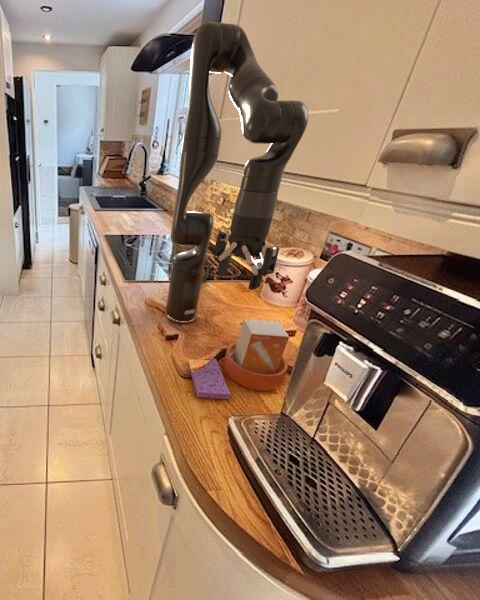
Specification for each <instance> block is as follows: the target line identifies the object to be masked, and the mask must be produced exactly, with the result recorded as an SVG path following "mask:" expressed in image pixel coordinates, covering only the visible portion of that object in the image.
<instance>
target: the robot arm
mask: <svg viewBox="0 0 480 600" xmlns="http://www.w3.org/2000/svg"><path fill="white" fill-rule="evenodd" d="M250 43H251V42H250V41H249V38H248V35H247V34H246V32H245V30H244V29H243V27H241V26H240V25H239V24H236V23H235V24H234V23H224V22H217V21H205V22H203V23H201V24H200V25H199V26H198V28H197V29H196V31H195V33H194V36H193V39H192V43H191V49H190V57H189V71H188V72H189V74H188V94H187V108H186V115H185V116H186V117H185V123H184V130H183V137H182V145H181V152H180V153H181V154H180V164H179V177H178V184H177V185H178V186H177V191H176V192H177V193H176V198H175V202H174V203H175V204H174V209H173V215H172V220H171V227H170V241H171V243H172V244H173V245H177V246H188V247H189V246H191V247H193V248H191V249H190V250H185V251H183V252H179V253H176V254H175V255H174V256H173V257H172V260H171V269H170V277H169V283H168V284H169V285H168V292H167V299H166V306H165V312H164V316H165V317H166V319H167V320H169V321H170V322H173V323H175V324H181V325H184V324H185V325H186V324H192V323H194V322H195V320H196V317H197V316H196V315H197V310H198V305H199V298H200V294H201V288H202V283H204V282H205V281H206V280H207V279H208V278H209V276H210V269H211V264H210V263H208V264H207V268H206V275H205V277H204V273H205V266H206V265H205V264H206V260H207V255H208V250H209V247H210V242H211V238H212V234H213V231H214V217H213V214H212V213H210V212H204V211H203V212H201V211H200V212H199V211H187V207H188V204H189V202H190V200H191V199H192V196H193V195H194V194H195V191H196V190H197V189H198V188H199V186H200V184H201V183H202V182H203V181H204V180H205V178H206V177H207V176H208V175H209V173H211V171H212V170H213V168H214V166H215V165H216V164H217V162H218V159H219V153H220V147H221V139H222V127H221V123H220V120H219V116H218V115H217V114H218V113H217V112H216V109H215V107H214V104H213V101H212V98H211V95H210V94H211V93H210V73H215V74H221V73H226V74H228V75H229V76H230V79H229V82H228V94H229V98H230V101H232V103H233V105H234V107H235V108H236V109H237V111H238V112H239V116H240V123H241V133H242V135H243V137H244V139H245V140H247V141H248V142H249V143H251V144H255V145H267V144H268V145H269V144H270V145H269V147H268V148H267V150H266V151H265V153H264V154H262V155H260V156H256V157H253V158H250V159H248V160H247V161H246V163H245V165H244V167H243V172H242V178H241V183H240V186H239V190H238V194H237V196H236V199H235V204H234V209H233V213H232V218H231V223H230V227H229V230H224V231H223V230H222V231H219V232H218V233H217V237H216V241H215V245H214V247H213V248H214V249H213V256H214V257H217V258H218V261H219V262H218V267H217V273H218V274H217V275H218V276H219V277H225V276H227V275H228V270H229V267H230V259H231V258H233V256H234V257H236V258H240V259H242V260H243V261H246V262H247V265H248V266H250V268H251V269H250V270H251V271H252V273H251V276H250V279H249V284H248V288H247V289H249V290H250V291H254V290H257V289H259V288H260V287H261V284H262V281H263V277H264V276H267V275H270V274H273V273H275V270H276V269H275V268H276V265H277V260H278V256H279V252H280V247H279V246H278V245H273V246H272V245H267V244H266V239H267V237H268V236H269V233H270V228H271V226H272V221H273V218H274V215H275V211H276V207H277V202H278V194H279V190H280V186H281V182H282V178H283V175H284V171H285V168H286V166H287V164H289V161H290V159H291V158H292V156H293V154H294V152H295V150H296V149H297V147H298V145H299V143H300V141H301V140H302V138H303V136H304V135H305V132H306V129H307V126H308V122H309V110H308V107H307V105H306V104H305V103H304V102H303V101H301V100H279V90H278V87H277V86H276V84H275V83H274V81H273V80H272V79H271V78H270V77H269V75H268V74H267V73H266V72H265V71H264V70H263V69H262V67H261V66H260V64H259V62H258V60H257V59H256V55H255V52H254V50H253V47H252V46H251V44H250ZM228 243H229V246H228V245H227V244H228ZM227 246H228V247H227ZM262 252H263V254H262ZM254 258H255V259H254ZM203 277H204V278H203ZM167 315H169V316H170V317H172V318H173V319H175V320H173V319H171V318H169V317H168V316H167ZM176 320H178V321H176ZM190 320H191V321H190ZM181 321H187V322H181Z"/></svg>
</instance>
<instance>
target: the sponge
mask: <svg viewBox="0 0 480 600" xmlns="http://www.w3.org/2000/svg"><path fill="white" fill-rule="evenodd" d="M212 359H213V360H212V361H211V362H210V363H209V364H207V365H206V366H205V367H204V368H202V369H200V370H198V371H193V374H192V371H190V370H189V372H190V376H191V379H192V382H193V385H194V389H195V394H196V396H197V397H198V398H204V399H205V398H206V399H222V400H229V399H230V397H231V392H230V390H229V387H228V385H227V384H226V381H225V378H224V375H223V373H222V370H221V368H220V366H219V363H218V360H217V358H212Z"/></svg>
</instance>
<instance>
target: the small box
mask: <svg viewBox="0 0 480 600" xmlns="http://www.w3.org/2000/svg"><path fill="white" fill-rule="evenodd" d="M289 339H290V336H289V334H288V333H287V331H286V330H285V328H284V327H283V325H282V324H281V322H279V321H271V320H270V321H269V320H261V319H255V320H254V319H243V320H242V324H241V328H240V332H239V335H238V338H237V341H236V342H237V345H236V349H235V353H234V356H233V361H234V362H235V363H237V364H238V365H239V366H241V367H243V368H245V369H247V370H249V371H252V372H255V373H259V374H268V375H269V374H276V372H277V369H278V366H279V364H280V361H281V358H282V356H284V353H285V351H286V347H287V344H288V342H289Z"/></svg>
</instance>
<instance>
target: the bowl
mask: <svg viewBox="0 0 480 600" xmlns="http://www.w3.org/2000/svg"><path fill="white" fill-rule="evenodd" d="M237 342H238V341H235V342H233V343H232V342H231V343H230V344H229V345H228V346H227V348H226V351H225V355H224V359H223V363H222V368H223V371H224V373H225V374H226V375H227V376H228V377H229V378H230V379H231V380H232V381H234V382H235V383H236V384H238V385H239V386H242V387H245V388H247V389H250V390H254V391H263V392H267V391H273V390H276V389H278V388H280V387H281V386H282V384H283V383H284V379H285V377H286V374H287V371H288V368H289V367H288V365H289V364H288V361H287V360H286V358H285V356H284V355H282V358H281V361H280V364H279V366H278V369H277V372H276V374H269V375H268V374H259V373H255V372H252V371H249V370H247V369H245V368H243V367H241V366H239V365H238V364H237V363H235V362H234V361H233V356H234V353H235V349H236V345H237Z"/></svg>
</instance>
